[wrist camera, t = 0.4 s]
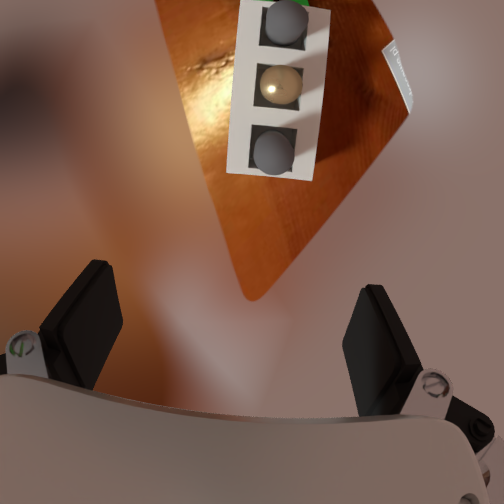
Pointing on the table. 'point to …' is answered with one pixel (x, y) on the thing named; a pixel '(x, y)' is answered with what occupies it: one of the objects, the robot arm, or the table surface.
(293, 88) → the brass knob
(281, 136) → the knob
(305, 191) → the table surface
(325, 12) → the white peg holder block
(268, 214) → the table surface
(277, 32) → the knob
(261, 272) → the table surface
